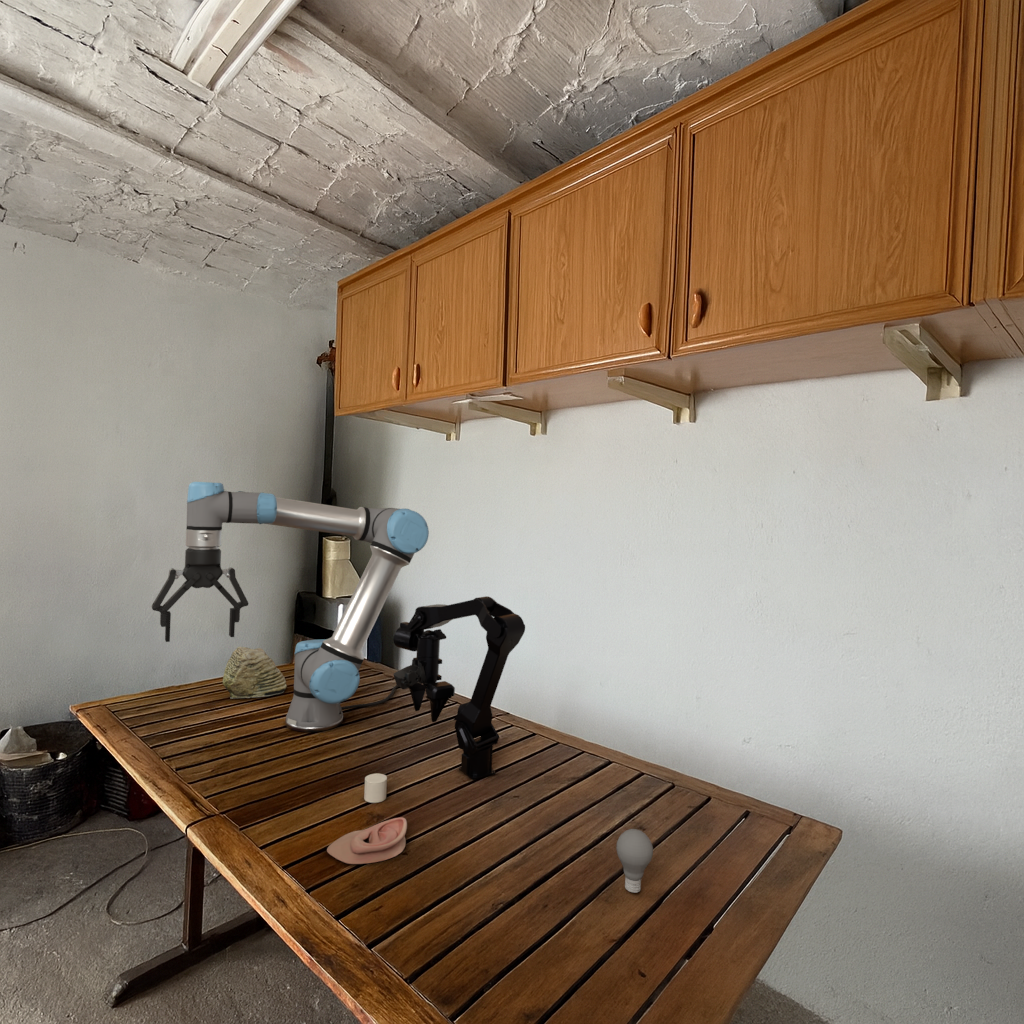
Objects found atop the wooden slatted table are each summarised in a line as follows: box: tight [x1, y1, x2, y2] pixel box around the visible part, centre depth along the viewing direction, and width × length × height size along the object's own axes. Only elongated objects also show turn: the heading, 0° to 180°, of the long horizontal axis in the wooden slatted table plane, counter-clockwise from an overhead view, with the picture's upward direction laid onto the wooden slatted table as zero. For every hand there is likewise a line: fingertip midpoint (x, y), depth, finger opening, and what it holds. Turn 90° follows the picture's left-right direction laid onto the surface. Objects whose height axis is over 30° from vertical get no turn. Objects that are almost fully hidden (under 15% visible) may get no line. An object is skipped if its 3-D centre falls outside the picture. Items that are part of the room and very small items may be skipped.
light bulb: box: [615, 828, 654, 894], centre depth 106 cm, size 6×6×10 cm
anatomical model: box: [326, 816, 408, 865], centre depth 115 cm, size 13×4×12 cm
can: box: [363, 772, 388, 804], centre depth 134 cm, size 5×5×4 cm
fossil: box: [222, 646, 288, 699], centre depth 198 cm, size 9×18×15 cm, turn 132°
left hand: (200, 638), depth 148 cm, fingers open, 13 cm apart
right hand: (425, 716), depth 160 cm, fingers open, 9 cm apart
